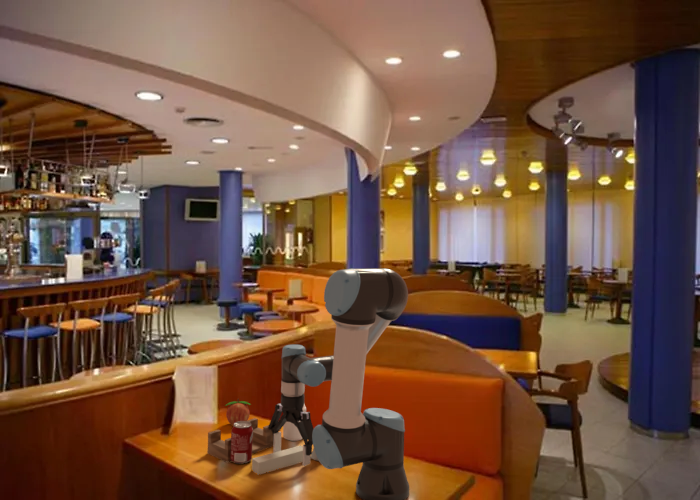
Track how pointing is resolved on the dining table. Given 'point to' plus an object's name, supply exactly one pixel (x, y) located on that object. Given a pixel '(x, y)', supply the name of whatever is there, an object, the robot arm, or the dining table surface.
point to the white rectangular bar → (277, 460)
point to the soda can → (241, 442)
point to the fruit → (237, 411)
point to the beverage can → (292, 430)
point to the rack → (223, 448)
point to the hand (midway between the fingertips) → (291, 458)
